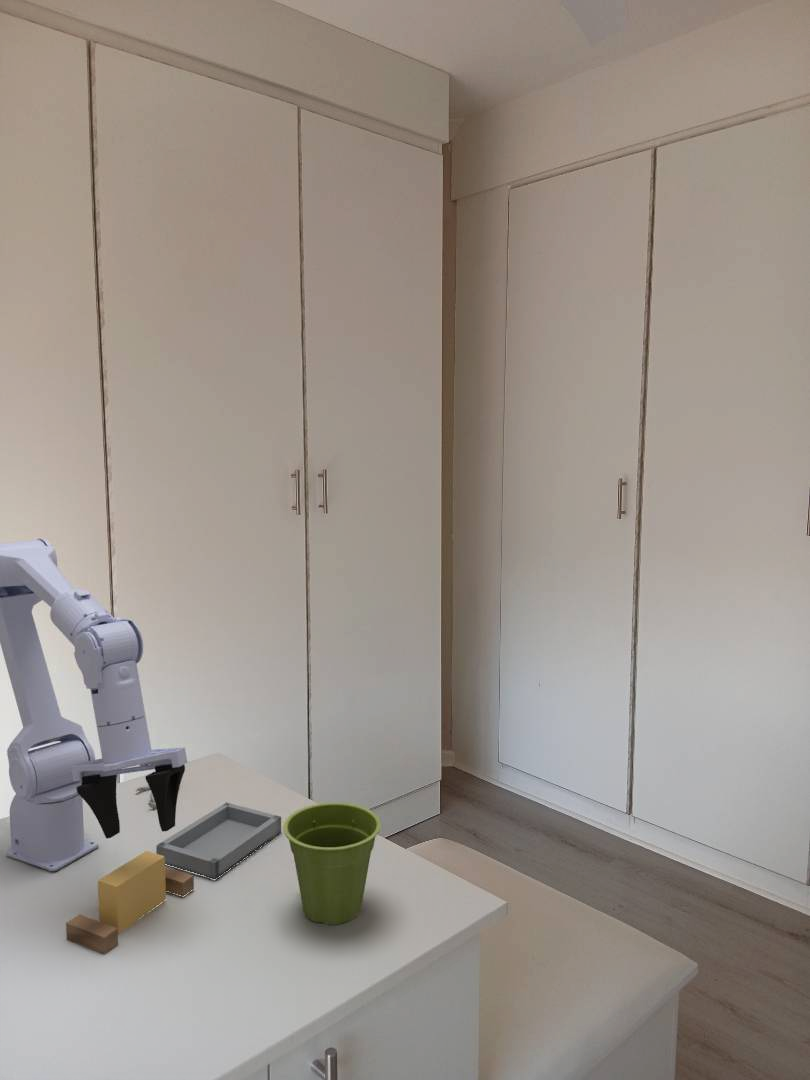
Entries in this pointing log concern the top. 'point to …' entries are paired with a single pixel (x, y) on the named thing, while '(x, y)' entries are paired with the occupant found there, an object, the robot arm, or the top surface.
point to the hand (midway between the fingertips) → (140, 832)
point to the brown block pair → (106, 935)
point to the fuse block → (132, 890)
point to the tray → (219, 840)
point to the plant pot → (332, 857)
